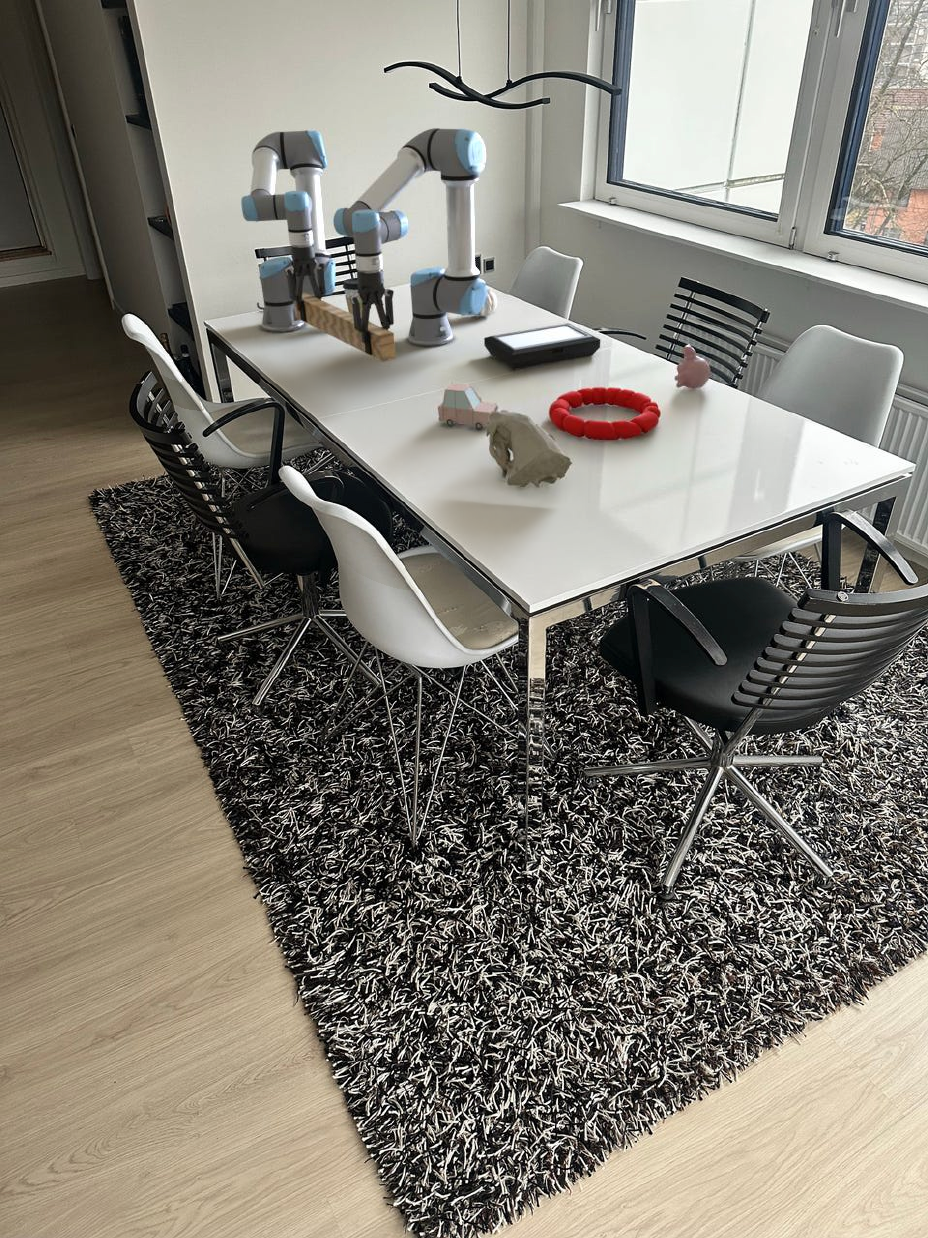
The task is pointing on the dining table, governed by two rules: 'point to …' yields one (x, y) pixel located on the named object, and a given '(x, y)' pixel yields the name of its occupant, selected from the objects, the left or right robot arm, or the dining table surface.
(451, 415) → the toy car
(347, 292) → the coffee cup
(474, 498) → the dining table surface
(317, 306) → the bar
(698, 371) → the figurine
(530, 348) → the electronic device
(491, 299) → the seashell
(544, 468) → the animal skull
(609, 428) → the decorative ring
